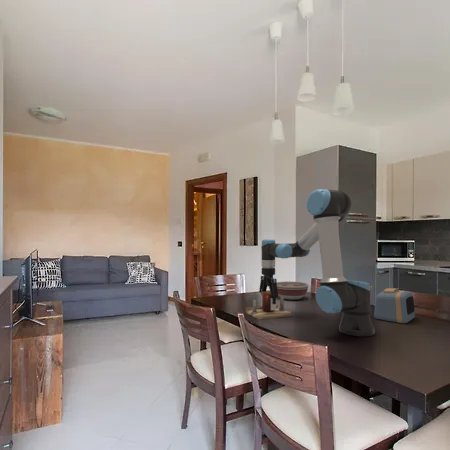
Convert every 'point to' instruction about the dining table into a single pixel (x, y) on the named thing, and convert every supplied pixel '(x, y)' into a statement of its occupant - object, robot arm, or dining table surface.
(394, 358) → the dining table surface
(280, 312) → the caddy
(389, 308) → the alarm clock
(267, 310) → the mug
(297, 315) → the dining table surface
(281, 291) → the bowl
